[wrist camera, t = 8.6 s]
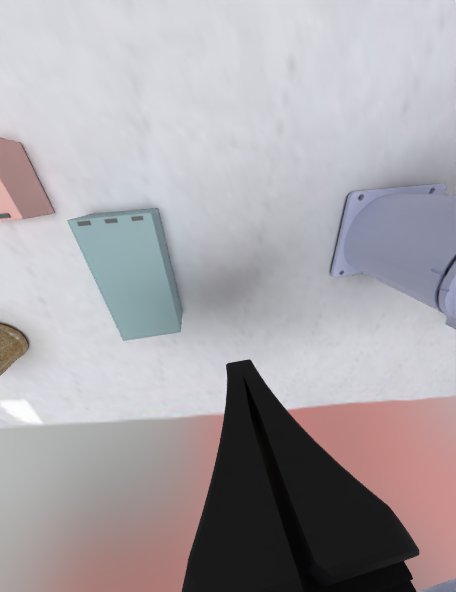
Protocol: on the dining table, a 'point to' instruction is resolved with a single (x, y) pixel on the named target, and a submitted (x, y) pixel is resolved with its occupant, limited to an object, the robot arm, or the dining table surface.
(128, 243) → the teal elongated prism
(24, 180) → the stub
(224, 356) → the dining table surface
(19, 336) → the sprinkles bottle
